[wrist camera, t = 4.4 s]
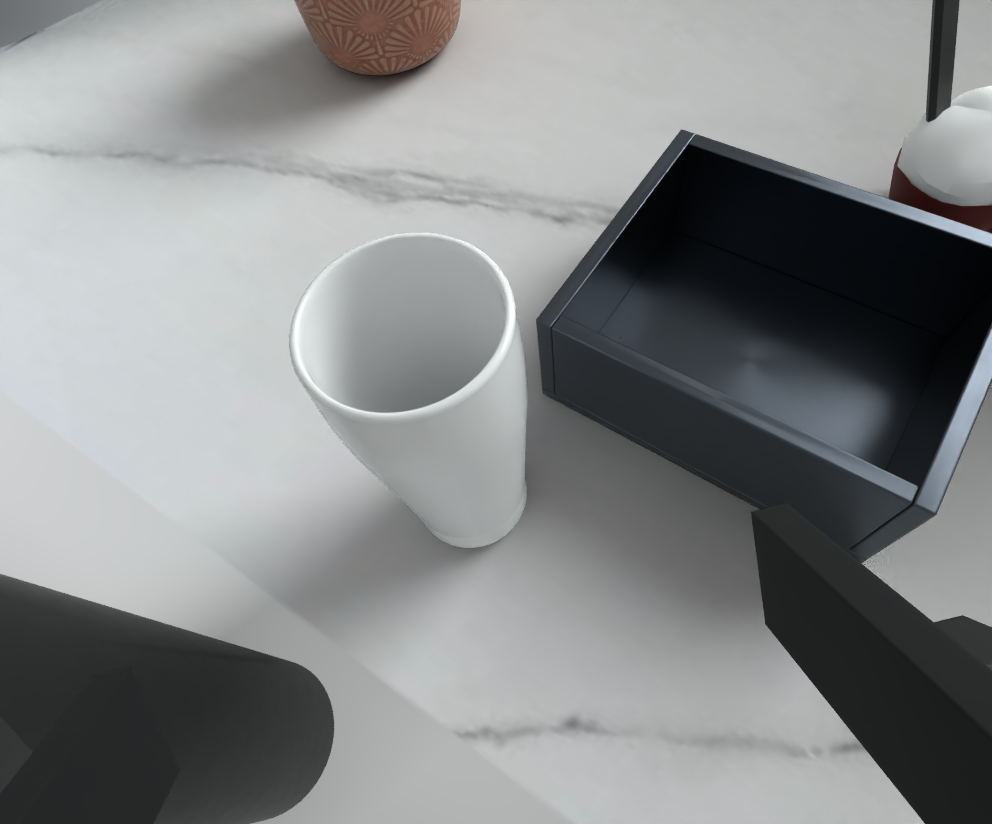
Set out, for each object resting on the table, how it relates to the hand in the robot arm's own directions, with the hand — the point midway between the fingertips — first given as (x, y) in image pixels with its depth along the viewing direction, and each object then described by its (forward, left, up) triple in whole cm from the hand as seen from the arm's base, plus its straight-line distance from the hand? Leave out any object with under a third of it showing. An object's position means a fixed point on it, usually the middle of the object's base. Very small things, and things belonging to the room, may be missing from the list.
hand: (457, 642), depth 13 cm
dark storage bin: (+1, +20, -16) cm, 25 cm away
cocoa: (+5, +34, -16) cm, 38 cm away
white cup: (-7, +6, -16) cm, 18 cm away
